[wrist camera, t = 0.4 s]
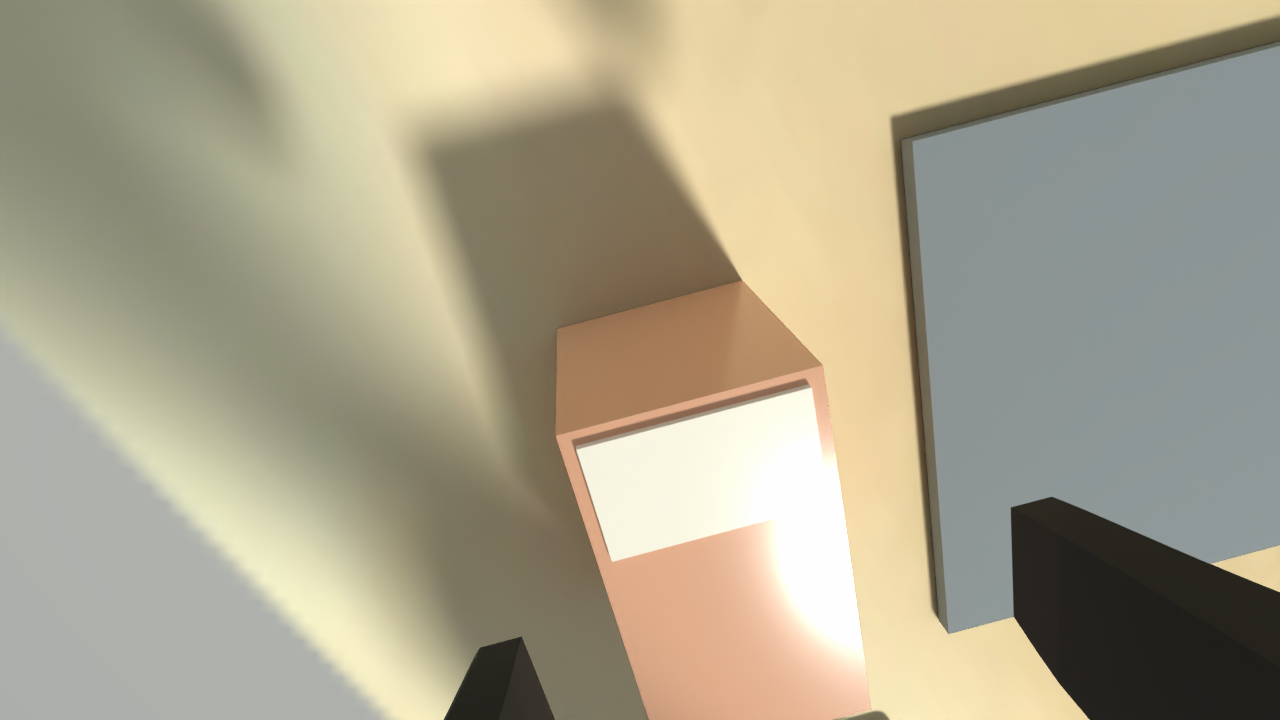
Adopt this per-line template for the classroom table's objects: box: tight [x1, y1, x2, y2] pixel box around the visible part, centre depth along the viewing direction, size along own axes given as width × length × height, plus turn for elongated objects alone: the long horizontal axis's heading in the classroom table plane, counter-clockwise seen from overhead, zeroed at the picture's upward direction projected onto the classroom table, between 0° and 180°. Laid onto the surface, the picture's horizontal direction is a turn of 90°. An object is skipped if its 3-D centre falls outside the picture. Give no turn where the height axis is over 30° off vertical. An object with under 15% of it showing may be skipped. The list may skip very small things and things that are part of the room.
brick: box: [556, 280, 871, 720], centre depth 17 cm, size 9×5×6 cm, turn 14°
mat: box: [901, 41, 1280, 634], centre depth 20 cm, size 16×14×1 cm
